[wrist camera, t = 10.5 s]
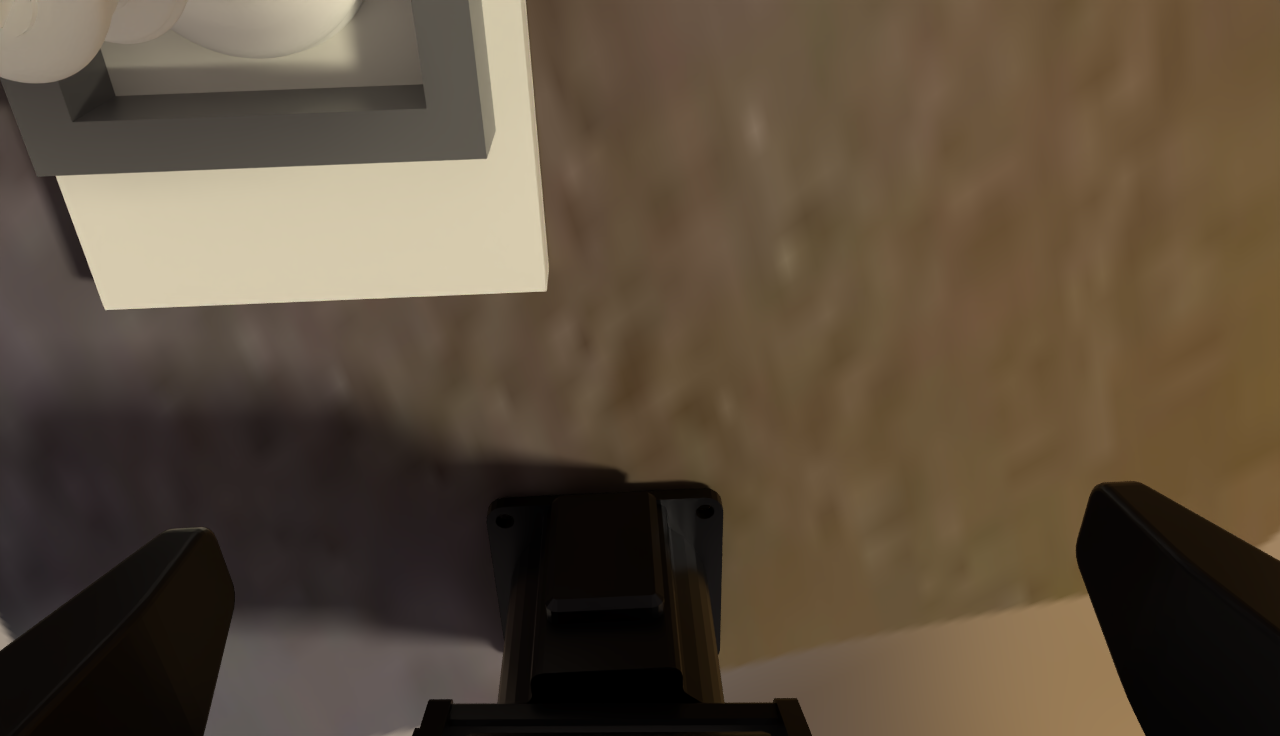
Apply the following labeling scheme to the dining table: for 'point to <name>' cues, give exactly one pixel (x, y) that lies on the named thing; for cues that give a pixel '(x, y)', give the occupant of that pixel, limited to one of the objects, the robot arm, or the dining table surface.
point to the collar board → (303, 162)
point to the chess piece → (157, 29)
